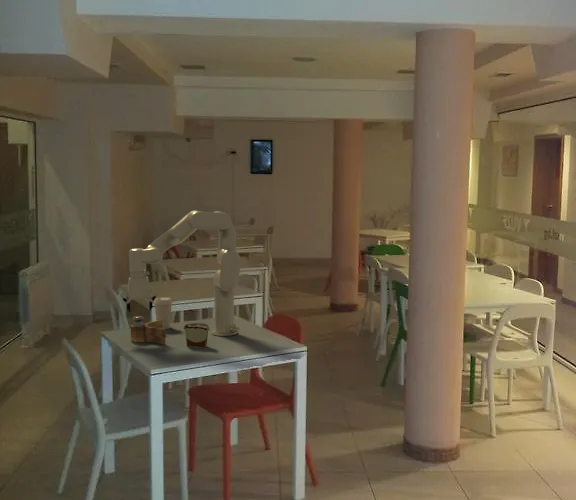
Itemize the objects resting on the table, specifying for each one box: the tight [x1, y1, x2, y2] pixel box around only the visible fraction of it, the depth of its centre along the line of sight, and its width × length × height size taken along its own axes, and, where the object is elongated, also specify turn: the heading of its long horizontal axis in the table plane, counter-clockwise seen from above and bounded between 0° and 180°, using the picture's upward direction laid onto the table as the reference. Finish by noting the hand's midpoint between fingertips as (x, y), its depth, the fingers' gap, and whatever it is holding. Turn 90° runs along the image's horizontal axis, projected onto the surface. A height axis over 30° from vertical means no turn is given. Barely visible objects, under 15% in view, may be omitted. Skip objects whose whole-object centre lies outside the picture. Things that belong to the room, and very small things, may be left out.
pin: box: [132, 315, 145, 327], centre depth 340 cm, size 5×5×11 cm
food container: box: [183, 322, 210, 349], centre depth 329 cm, size 12×6×10 cm, turn 71°
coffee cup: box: [153, 296, 173, 330], centre depth 366 cm, size 10×10×15 cm
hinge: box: [130, 320, 166, 345], centre depth 342 cm, size 20×20×7 cm
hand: (139, 310), depth 339 cm, fingers open, 9 cm apart
